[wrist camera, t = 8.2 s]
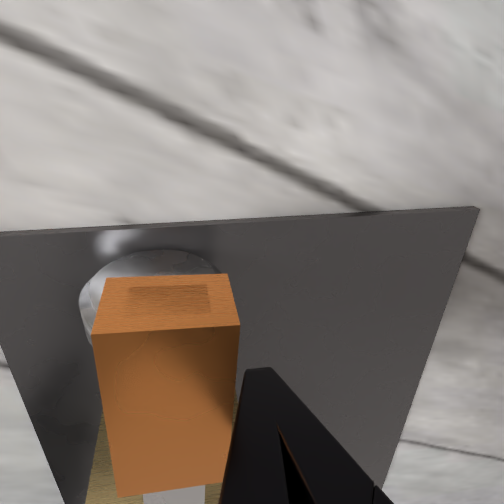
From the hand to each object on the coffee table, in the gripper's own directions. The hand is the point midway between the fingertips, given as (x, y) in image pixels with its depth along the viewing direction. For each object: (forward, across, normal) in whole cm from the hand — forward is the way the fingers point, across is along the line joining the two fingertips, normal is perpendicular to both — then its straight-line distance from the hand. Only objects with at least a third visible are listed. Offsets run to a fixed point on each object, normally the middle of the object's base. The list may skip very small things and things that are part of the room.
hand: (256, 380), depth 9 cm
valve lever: (+1, +2, +5) cm, 6 cm away
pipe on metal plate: (+8, -1, +11) cm, 14 cm away
